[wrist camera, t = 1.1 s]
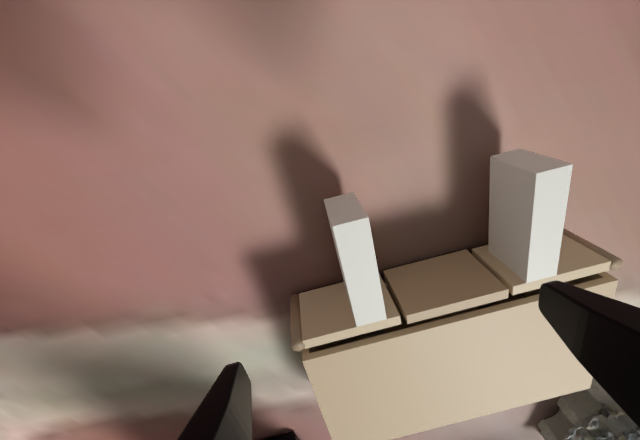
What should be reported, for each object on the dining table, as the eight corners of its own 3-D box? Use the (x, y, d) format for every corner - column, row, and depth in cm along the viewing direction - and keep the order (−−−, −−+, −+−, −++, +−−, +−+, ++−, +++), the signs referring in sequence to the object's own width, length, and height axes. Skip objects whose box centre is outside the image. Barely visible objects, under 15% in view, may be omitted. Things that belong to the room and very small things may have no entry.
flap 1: (291, 303, 19) (293, 352, 16) (258, 211, 16) (252, 247, 13) (380, 280, 19) (401, 324, 16) (363, 184, 16) (384, 212, 13)
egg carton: (589, 354, 26) (640, 400, 22) (652, 364, 27) (709, 408, 24) (522, 431, 30) (556, 481, 26) (580, 435, 31) (620, 483, 28)
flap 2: (471, 257, 19) (512, 296, 16) (470, 156, 16) (520, 177, 13) (560, 234, 19) (621, 268, 16) (575, 129, 16) (653, 143, 13)
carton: (328, 390, 24) (337, 453, 20) (294, 291, 19) (296, 347, 15) (538, 336, 24) (590, 388, 20) (552, 224, 19) (622, 263, 15)
